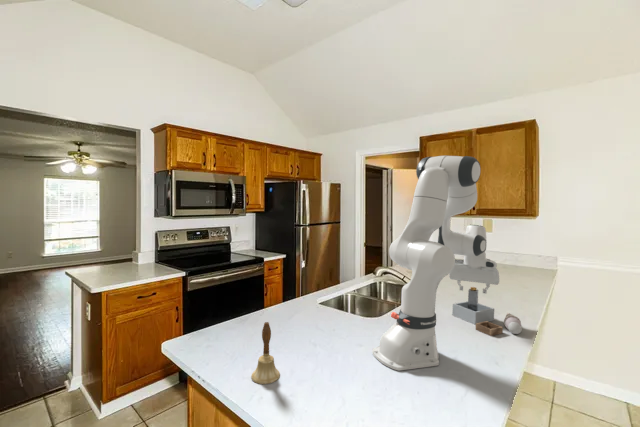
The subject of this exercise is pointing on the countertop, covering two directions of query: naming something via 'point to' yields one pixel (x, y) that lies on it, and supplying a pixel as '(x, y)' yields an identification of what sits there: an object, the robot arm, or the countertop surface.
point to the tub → (473, 313)
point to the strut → (473, 299)
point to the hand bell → (265, 362)
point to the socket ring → (489, 328)
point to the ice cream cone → (512, 323)
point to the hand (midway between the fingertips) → (472, 291)
